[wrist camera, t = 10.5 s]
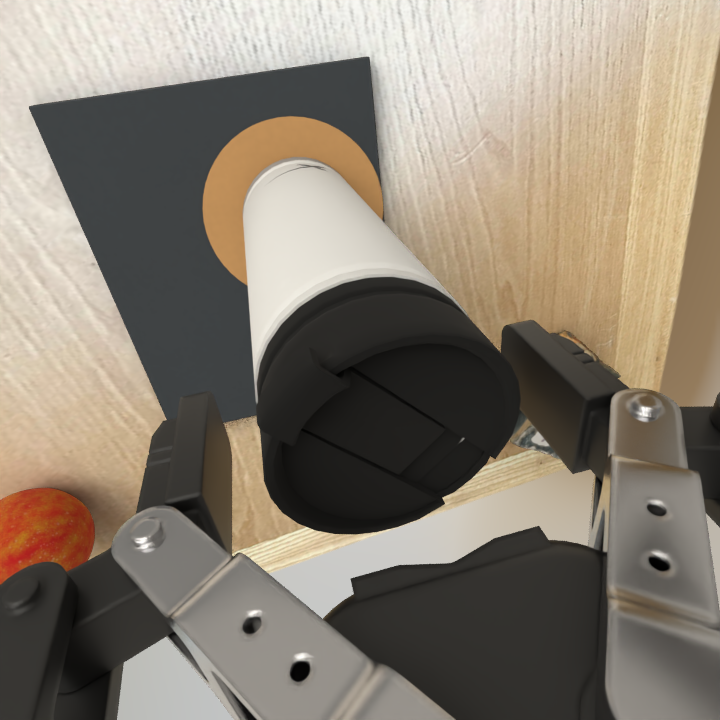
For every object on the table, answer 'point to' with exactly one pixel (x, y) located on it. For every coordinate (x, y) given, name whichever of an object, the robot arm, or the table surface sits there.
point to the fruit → (43, 530)
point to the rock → (526, 432)
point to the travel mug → (360, 361)
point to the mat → (200, 203)
